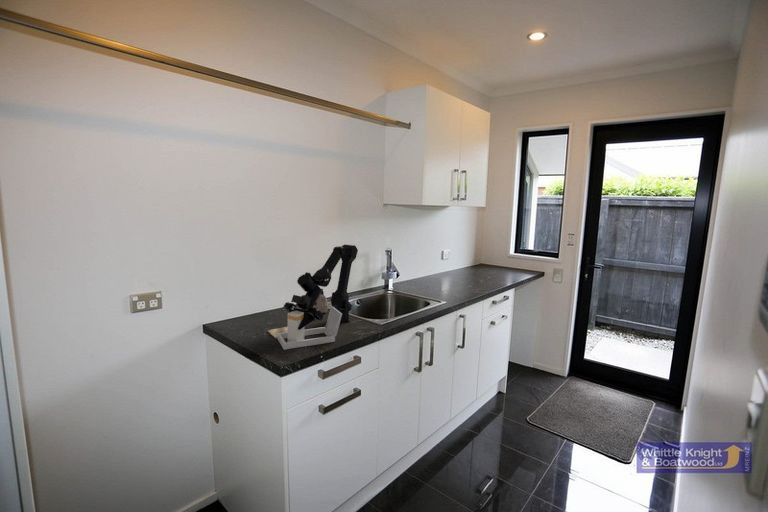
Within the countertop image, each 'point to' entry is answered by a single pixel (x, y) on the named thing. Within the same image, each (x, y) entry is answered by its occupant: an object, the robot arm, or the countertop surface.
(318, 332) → the grey angled frame
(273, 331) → the pad
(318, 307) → the pumice stone
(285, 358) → the countertop surface
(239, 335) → the countertop surface
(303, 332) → the module
